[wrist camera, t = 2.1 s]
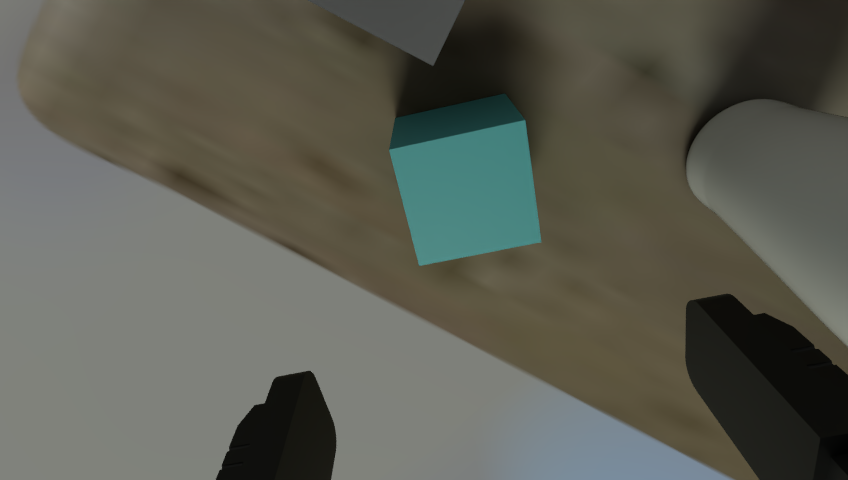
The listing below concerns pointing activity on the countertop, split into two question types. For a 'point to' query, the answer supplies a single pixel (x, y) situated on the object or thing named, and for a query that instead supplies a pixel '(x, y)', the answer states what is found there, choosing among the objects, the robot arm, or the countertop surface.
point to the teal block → (465, 179)
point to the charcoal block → (401, 22)
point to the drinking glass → (782, 195)
